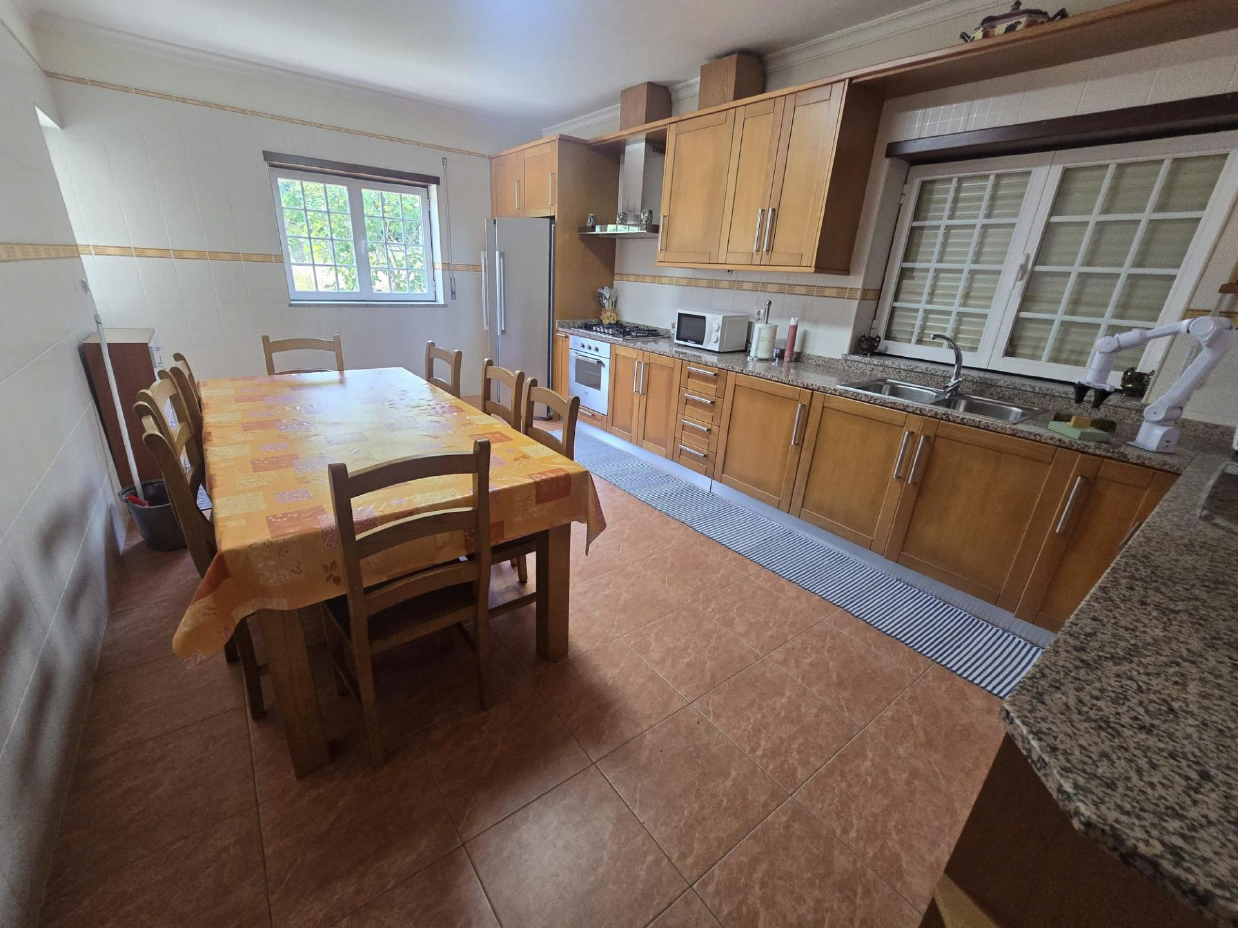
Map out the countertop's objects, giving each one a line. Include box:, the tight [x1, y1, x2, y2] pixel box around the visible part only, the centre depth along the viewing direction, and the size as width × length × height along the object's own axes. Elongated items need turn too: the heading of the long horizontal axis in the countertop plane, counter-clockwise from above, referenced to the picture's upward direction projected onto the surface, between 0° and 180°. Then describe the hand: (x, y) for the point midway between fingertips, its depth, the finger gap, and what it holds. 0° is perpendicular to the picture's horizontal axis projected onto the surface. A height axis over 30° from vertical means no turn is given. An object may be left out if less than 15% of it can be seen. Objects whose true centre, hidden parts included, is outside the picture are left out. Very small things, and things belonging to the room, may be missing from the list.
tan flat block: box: [1069, 415, 1093, 428], centre depth 184 cm, size 6×1×4 cm, turn 88°
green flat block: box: [1047, 420, 1110, 442], centre depth 185 cm, size 14×10×3 cm
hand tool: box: [1052, 411, 1118, 433], centre depth 198 cm, size 19×4×5 cm, turn 37°
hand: (1086, 406), depth 190 cm, fingers open, 7 cm apart
